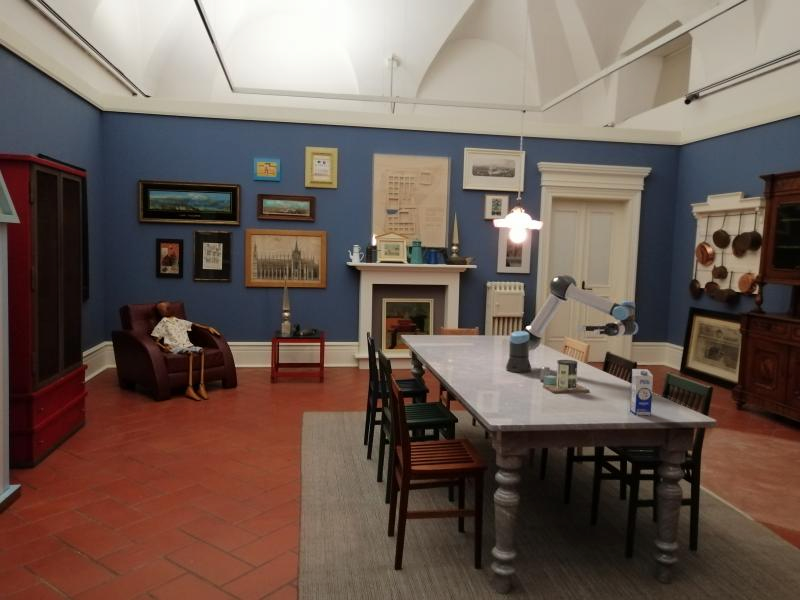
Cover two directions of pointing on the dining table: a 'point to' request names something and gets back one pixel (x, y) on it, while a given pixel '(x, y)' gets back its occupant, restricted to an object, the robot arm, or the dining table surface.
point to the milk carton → (641, 392)
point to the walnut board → (556, 390)
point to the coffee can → (566, 374)
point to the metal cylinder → (544, 373)
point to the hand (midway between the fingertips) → (585, 330)
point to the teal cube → (550, 380)
